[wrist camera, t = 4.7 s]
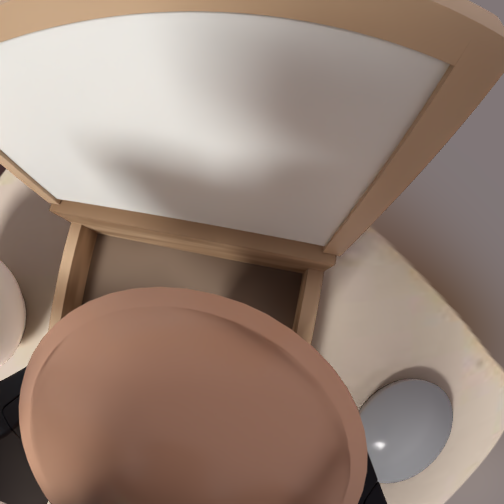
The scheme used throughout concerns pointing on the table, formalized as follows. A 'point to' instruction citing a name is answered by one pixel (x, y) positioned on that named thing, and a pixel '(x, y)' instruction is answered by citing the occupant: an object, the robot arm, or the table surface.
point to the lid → (240, 105)
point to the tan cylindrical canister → (186, 407)
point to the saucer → (405, 428)
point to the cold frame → (186, 263)
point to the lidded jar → (10, 314)
